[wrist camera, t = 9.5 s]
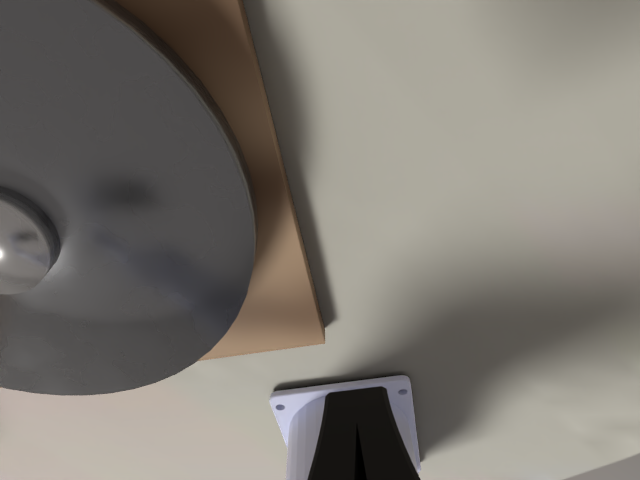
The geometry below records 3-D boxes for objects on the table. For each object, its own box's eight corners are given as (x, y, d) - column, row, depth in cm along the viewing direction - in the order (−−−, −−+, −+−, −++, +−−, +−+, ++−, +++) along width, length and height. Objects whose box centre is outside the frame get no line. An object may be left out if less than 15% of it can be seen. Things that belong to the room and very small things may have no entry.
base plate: (324, 328, 24) (325, 345, 23) (-29, 378, 26) (-42, 395, 25) (196, -185, 13) (187, -194, 12) (-402, -31, 15) (-451, -28, 14)
